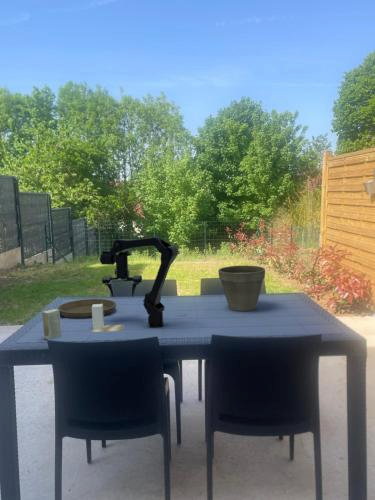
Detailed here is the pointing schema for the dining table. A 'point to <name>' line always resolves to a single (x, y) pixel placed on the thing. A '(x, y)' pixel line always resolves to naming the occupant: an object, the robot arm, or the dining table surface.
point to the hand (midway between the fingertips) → (123, 296)
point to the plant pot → (242, 286)
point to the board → (110, 328)
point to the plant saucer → (85, 308)
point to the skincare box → (51, 323)
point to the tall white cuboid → (97, 316)
